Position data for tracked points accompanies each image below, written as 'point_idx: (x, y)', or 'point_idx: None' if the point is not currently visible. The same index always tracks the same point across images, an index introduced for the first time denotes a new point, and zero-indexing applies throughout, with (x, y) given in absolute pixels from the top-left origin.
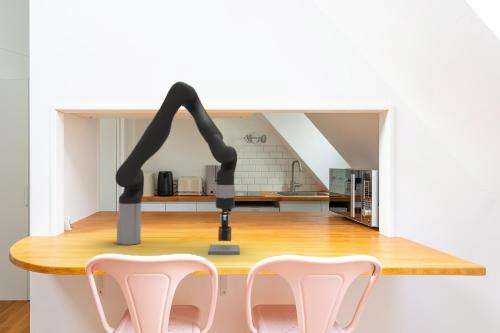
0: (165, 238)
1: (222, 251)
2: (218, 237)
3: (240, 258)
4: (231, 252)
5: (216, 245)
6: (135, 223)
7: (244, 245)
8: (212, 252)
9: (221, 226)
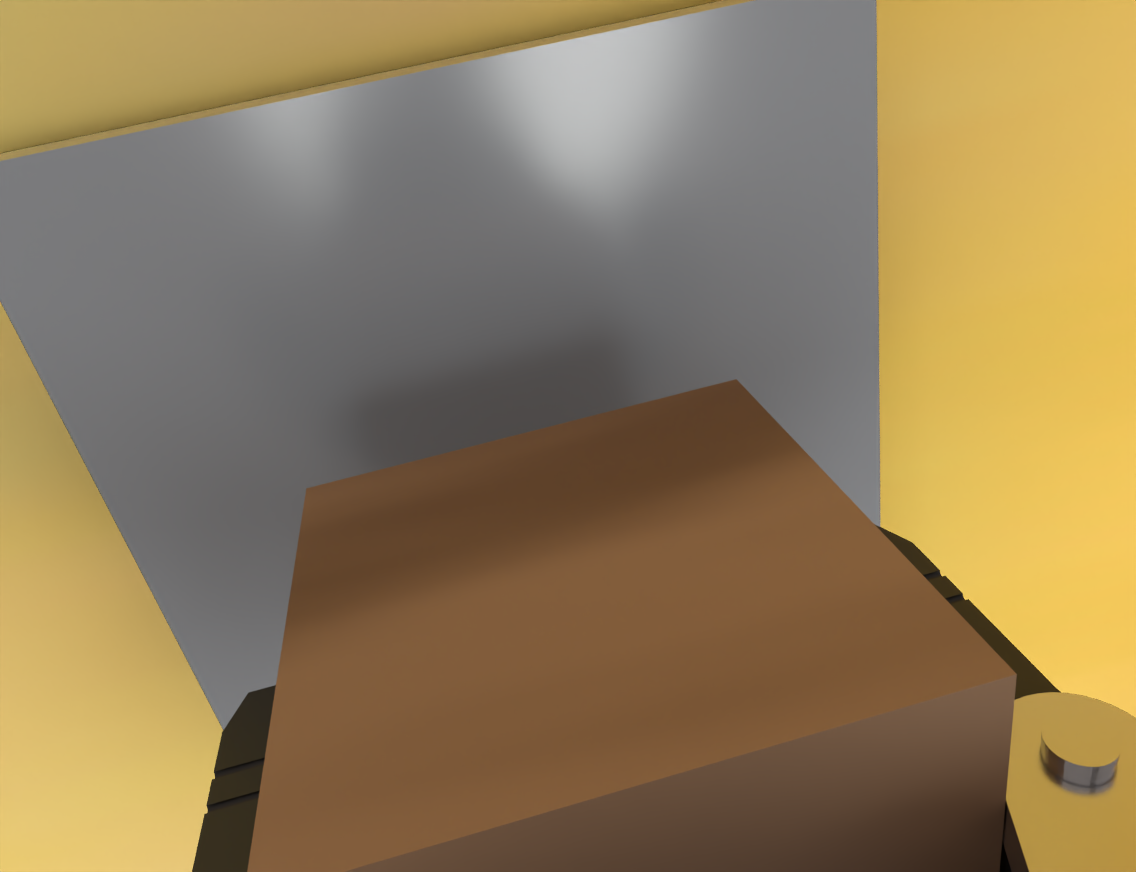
0: None
1: (126, 536)
2: (298, 562)
3: (24, 844)
4: (216, 686)
5: (771, 208)
6: None
7: (1069, 630)
8: (13, 287)
9: (926, 810)
